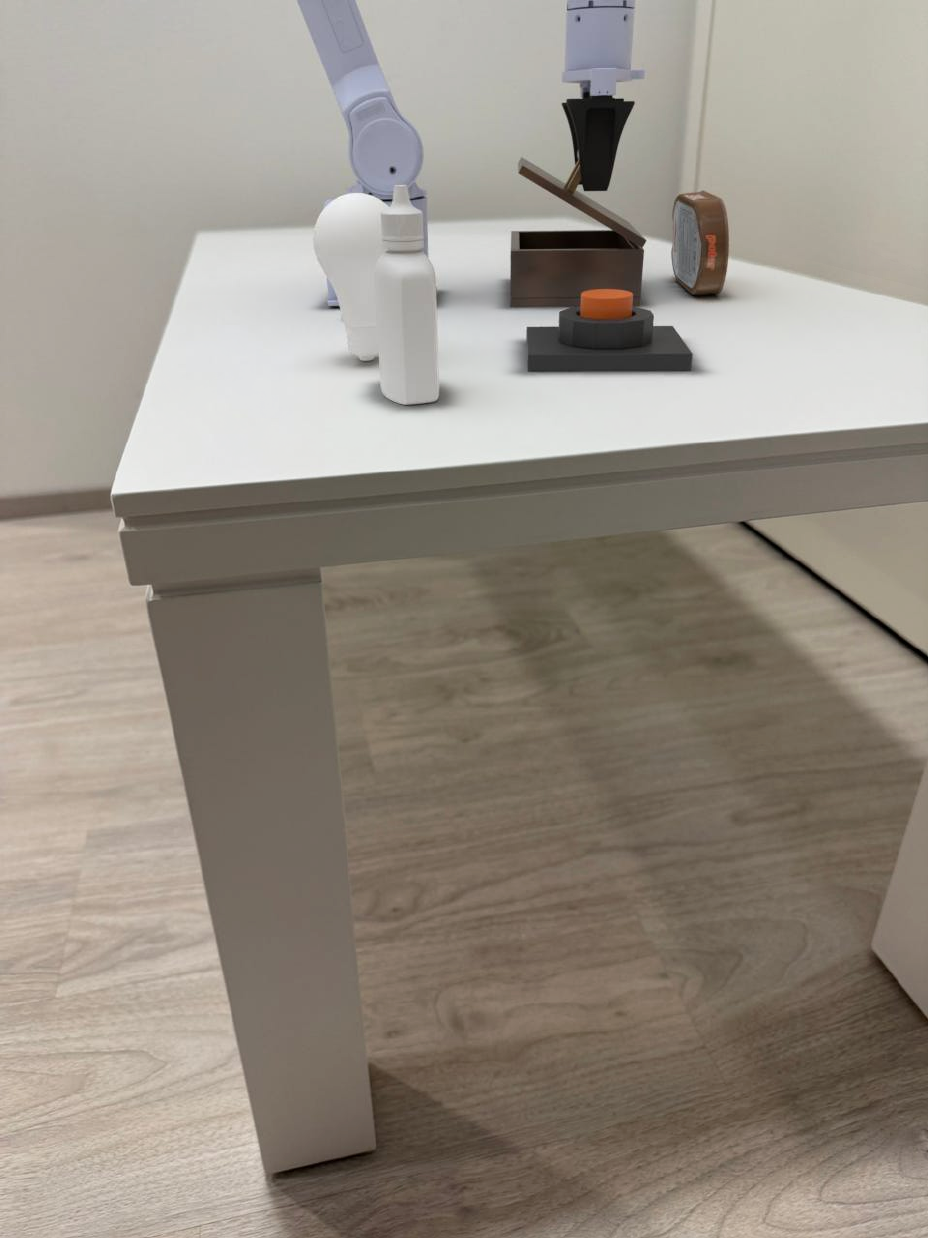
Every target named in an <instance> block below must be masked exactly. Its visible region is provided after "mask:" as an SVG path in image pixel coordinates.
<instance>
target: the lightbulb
mask: <svg viewBox="0 0 928 1238" xmlns="http://www.w3.org/2000/svg"><path fill="white" fill-rule="evenodd" d="M334 199H335V200H333V201H331V202H330V203H329V204H328V205H327V206H326V207H325V208H324V207H323V208H324V209H322V210H321V212H320V213H319V216H318V217H317V220H316V222H315V225H314V229H313V237H312V241H313V249H314V254H315V256H316V260H317V261H318V264H319V265H320V266H319V267H321V269H322V271H323V273H324V275H325V277H326V279H327V278H328V280H329V281H330V283H331V284H332V286H333V289H334V291H335V293H336V296H337V298H338V302H339V306H338V307H339V310H340V317H341V321H342V323H343V324H344V326H345V333H346V340H347V342H346V343H347V347H348V351H349V353H350V354H351V355H353V356H356V357H357V358H358V359H359V360H360V361H363V362H369V361H374V359H375V358H376V356H379V351H378V334H377V317H376V299H375V280H374V270H375V265H376V263H377V261H378V259H379V258H380V257H381V256H382V255H383V253H384V252H385V251H387V249H383V246H382V227H381V213H382V212H383V211H384V210H386V209H388V208H389V206H388V205H386V204H385V203H384V202H382V201H381V200H380V199H378V198H376V197H374V196H371V195H368V194H364V193H350V194H346V193H345V194H342V195H339V196H338V197H336V198H334Z"/></svg>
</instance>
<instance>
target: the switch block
mask: <svg viewBox="0 0 928 1238" xmlns="http://www.w3.org/2000/svg"><path fill="white" fill-rule="evenodd" d="M654 317H655V315H654V313H653V312H652V311H651V310H650V309H646V308H642V307H639V306H632V317H629V318H622V319H592V318H585V317H581V316H580V306H577V307H567V308H565V309H562V310H560V311H559V312H558V326H526V333H525V335H526V337H525V339H526V340H525V343H526V345H525V347H526V363H527V364H526V366H527V367H526V368H527V372H528V373H559V372H560V373H561V372H562V373H564V372H567V373H568V372H569V373H571V372H575V373H577V372H578V373H579V372H582V373H583V372H585V373H586V372H589V373H591V372H691V371H692V367H693V365H692V364H693V356H694V353H693V352H692V351H691V349H690V348H689V347H688V345H687V344H686V342H685V341H684V340H683V338H682V337H681V336H680V334H679V332H677V330H676V328H675V327H674V326H673V325H654V319H655V318H654Z"/></svg>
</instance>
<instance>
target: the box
mask: <svg viewBox="0 0 928 1238" xmlns="http://www.w3.org/2000/svg"><path fill="white" fill-rule="evenodd" d="M644 256H645V249H644V247H643V248H641V247H640V246H638V245H636V244H635V243H633V242H632V241H630V240H628V239H627V238H625V237H623V236H622V235H620V234H618V233H617V232H615V231H613V230H612V229H581V230H580V229H579V230H577V229H576V230H575V229H574V230H572V229H571V230H570V229H569V230H567V229H566V230H512V231H511V232H510V266H509V267H510V273H509V274H510V276H509V277H510V280H509V281H510V282H509V283H510V284H509V286H510V287H509V289H510V290H509V291H510V292H509V296H510V297H509V306H510V308H570V307H577V306H581V293H582V292H585V291H588V290H596V289H616V290H624V291H629V292H631V293H633V303H632V306H634V307H640V306H641V297H642V287H643V286H642V284H643V272H644V271H643V270H644Z"/></svg>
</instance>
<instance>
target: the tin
mask: <svg viewBox="0 0 928 1238" xmlns="http://www.w3.org/2000/svg"><path fill="white" fill-rule="evenodd" d="M672 207H673V208H672V213H671V214H672V216H671V219H672V245H671V253H670V257H671V265H672V271H673V275H674V279H675V281H677V282H678V284H680V285H681V286H682V287H683V288H684V289H685V290H686V291H687V292H688V293H689V294H691V295H692V296H704V295H716V296H718V295H720V294H721V292H722V291H723V289H724V286H725V283H726V278H727V273H728V266H729V252H730V236H729V233H730V231H729V230H730V229H729V219H728V213H727V207H726V205H725V202H724V200H723V198H721V197H719V196H717V195H715V194H712V193H710V192H708V191H706V190H703V189H702V190H701V191H696V192H686V193H685V192H684V193H680V194H678V195H677V196H676V198H675V199H674V202H673V206H672Z"/></svg>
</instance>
